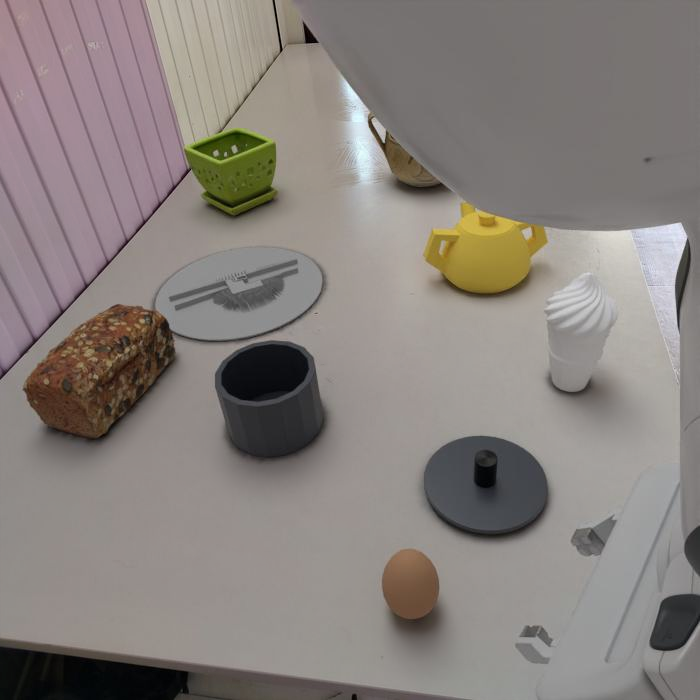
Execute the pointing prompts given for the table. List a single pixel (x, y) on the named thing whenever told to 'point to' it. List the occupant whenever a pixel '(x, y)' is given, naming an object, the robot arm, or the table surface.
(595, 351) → the ice cream cone
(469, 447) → the lid
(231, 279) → the plate
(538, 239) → the teapot
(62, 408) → the bread
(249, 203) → the flower pot
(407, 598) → the egg
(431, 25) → the robot arm
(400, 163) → the ceramic bowl
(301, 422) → the pot
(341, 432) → the table surface
